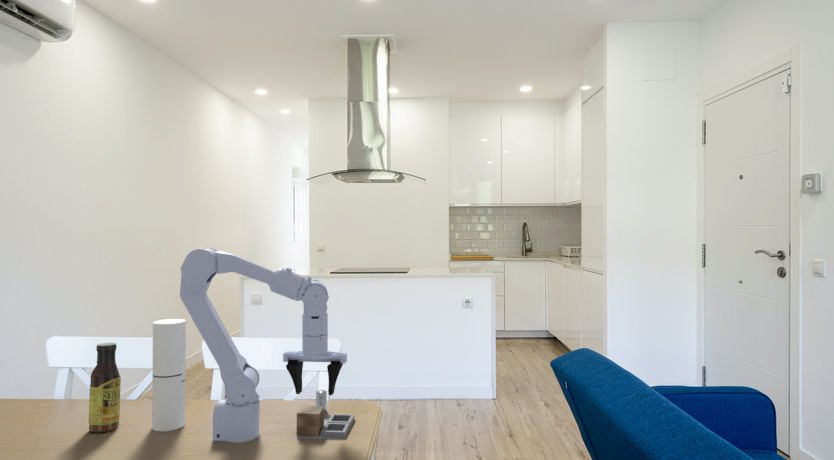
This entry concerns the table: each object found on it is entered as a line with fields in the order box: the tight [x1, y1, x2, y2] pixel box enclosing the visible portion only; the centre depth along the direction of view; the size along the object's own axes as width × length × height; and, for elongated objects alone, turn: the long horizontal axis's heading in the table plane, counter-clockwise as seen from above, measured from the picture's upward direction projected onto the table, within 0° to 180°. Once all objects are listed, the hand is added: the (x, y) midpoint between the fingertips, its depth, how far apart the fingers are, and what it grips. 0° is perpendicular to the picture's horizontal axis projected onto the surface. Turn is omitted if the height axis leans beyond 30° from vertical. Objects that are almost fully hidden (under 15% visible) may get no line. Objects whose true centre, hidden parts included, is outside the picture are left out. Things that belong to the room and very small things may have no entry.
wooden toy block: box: [296, 405, 325, 437], centre depth 119 cm, size 5×5×5 cm
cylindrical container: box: [151, 318, 187, 432], centre depth 125 cm, size 7×7×25 cm
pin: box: [315, 389, 328, 414], centre depth 132 cm, size 3×3×6 cm
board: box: [295, 413, 355, 440], centre depth 121 cm, size 11×12×4 cm
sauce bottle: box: [88, 342, 122, 434], centre depth 123 cm, size 6×6×20 cm
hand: (315, 393), depth 119 cm, fingers open, 7 cm apart
